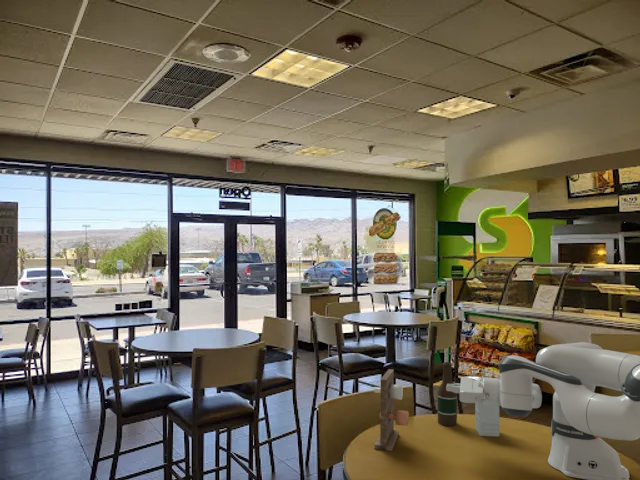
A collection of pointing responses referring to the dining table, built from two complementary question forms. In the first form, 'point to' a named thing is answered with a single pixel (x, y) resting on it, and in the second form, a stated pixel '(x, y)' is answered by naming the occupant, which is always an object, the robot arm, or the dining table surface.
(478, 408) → the supplement box
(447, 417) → the beer bottle
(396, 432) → the plug panel
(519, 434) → the dining table surface
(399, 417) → the terracotta plug
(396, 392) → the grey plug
